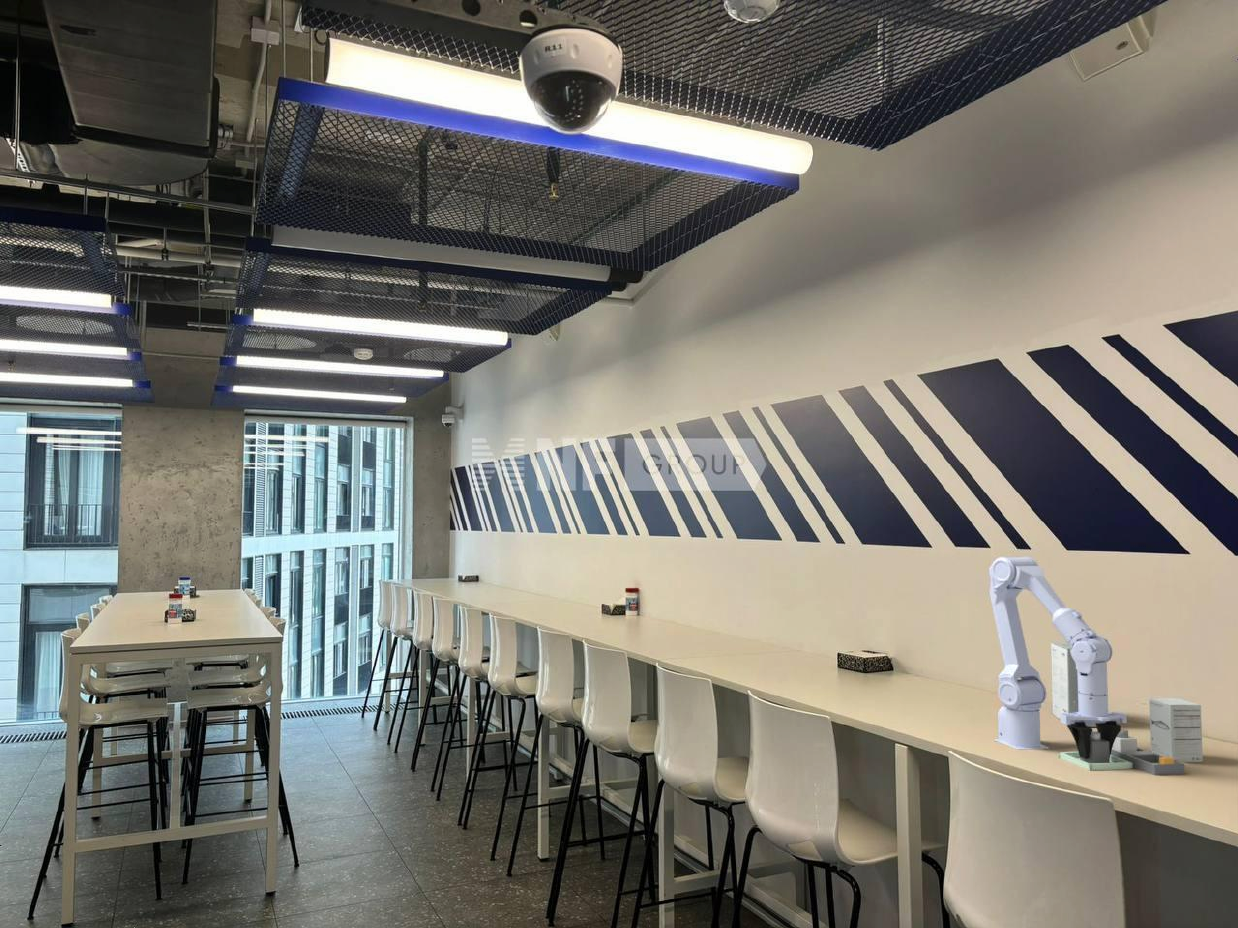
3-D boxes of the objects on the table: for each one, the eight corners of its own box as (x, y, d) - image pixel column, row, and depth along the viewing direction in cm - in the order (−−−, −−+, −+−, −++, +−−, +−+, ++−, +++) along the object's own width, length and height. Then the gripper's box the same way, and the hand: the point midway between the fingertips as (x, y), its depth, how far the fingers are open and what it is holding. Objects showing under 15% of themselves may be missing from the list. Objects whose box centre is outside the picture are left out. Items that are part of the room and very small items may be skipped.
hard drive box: (1100, 728, 226) (1098, 649, 227) (1068, 726, 228) (1066, 648, 229) (1081, 715, 241) (1079, 641, 243) (1051, 714, 243) (1049, 640, 244)
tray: (1058, 760, 195) (1058, 752, 195) (1099, 758, 196) (1099, 750, 196) (1089, 772, 185) (1089, 764, 185) (1132, 770, 186) (1132, 762, 187)
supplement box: (1149, 754, 201) (1147, 697, 201) (1180, 753, 201) (1178, 697, 202) (1172, 762, 193) (1170, 704, 194) (1204, 762, 194) (1202, 703, 195)
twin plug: (1108, 757, 197) (1107, 728, 198) (1124, 757, 198) (1123, 727, 198) (1121, 762, 193) (1120, 732, 194) (1137, 761, 194) (1136, 731, 194)
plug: (1080, 760, 192) (1079, 730, 193) (1096, 760, 193) (1095, 729, 193) (1092, 765, 188) (1091, 734, 189) (1109, 765, 189) (1108, 734, 189)
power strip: (1094, 754, 199) (1093, 738, 200) (1122, 753, 201) (1121, 737, 201) (1154, 777, 182) (1154, 758, 182) (1184, 775, 183) (1184, 757, 183)
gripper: (1074, 697, 187) (1076, 763, 186) (1136, 696, 189) (1138, 760, 188) (1053, 691, 194) (1055, 754, 193) (1112, 689, 196) (1114, 752, 195)
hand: (1094, 757), depth 191 cm, fingers open, 4 cm apart
